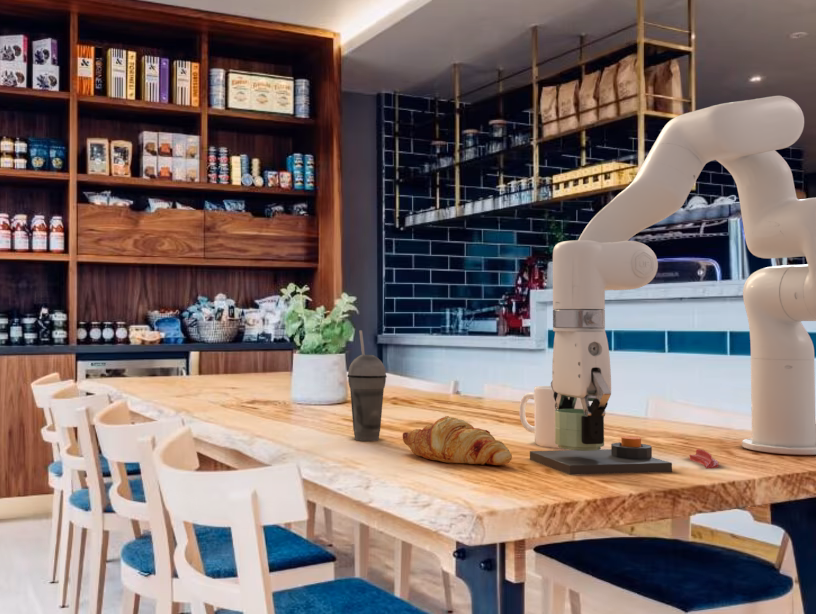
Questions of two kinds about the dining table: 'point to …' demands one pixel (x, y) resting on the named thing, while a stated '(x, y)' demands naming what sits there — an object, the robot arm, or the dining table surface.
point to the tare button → (631, 441)
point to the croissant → (457, 443)
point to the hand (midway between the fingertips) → (579, 438)
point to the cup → (542, 415)
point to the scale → (603, 460)
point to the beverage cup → (366, 394)
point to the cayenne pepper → (704, 459)
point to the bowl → (571, 430)
